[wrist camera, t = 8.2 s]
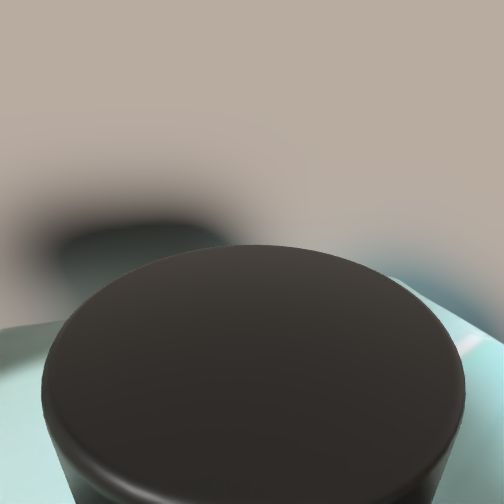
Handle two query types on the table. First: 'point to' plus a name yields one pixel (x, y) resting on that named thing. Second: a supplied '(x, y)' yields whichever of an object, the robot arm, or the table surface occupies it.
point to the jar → (253, 384)
